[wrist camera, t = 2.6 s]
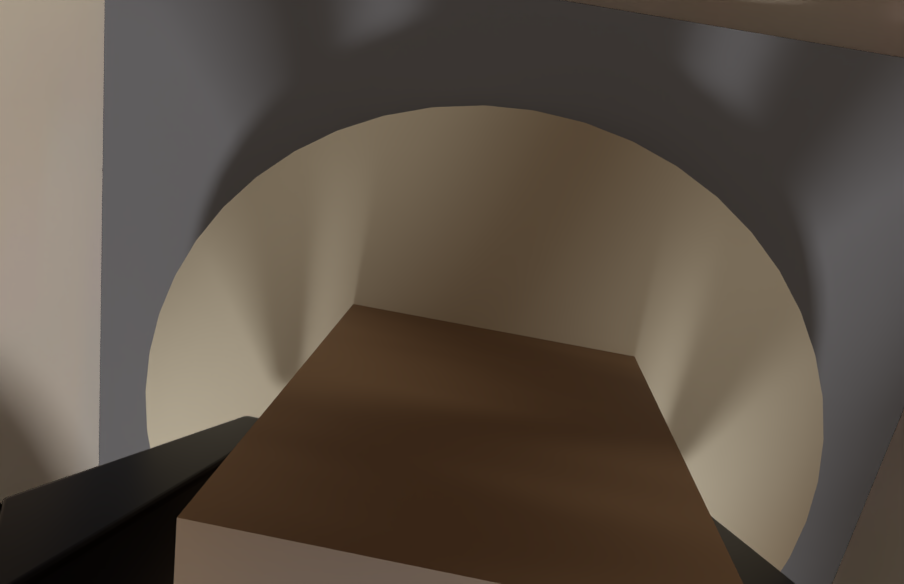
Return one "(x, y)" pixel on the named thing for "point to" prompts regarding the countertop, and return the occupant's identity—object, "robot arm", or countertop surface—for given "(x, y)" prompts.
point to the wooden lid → (485, 365)
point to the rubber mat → (544, 90)
